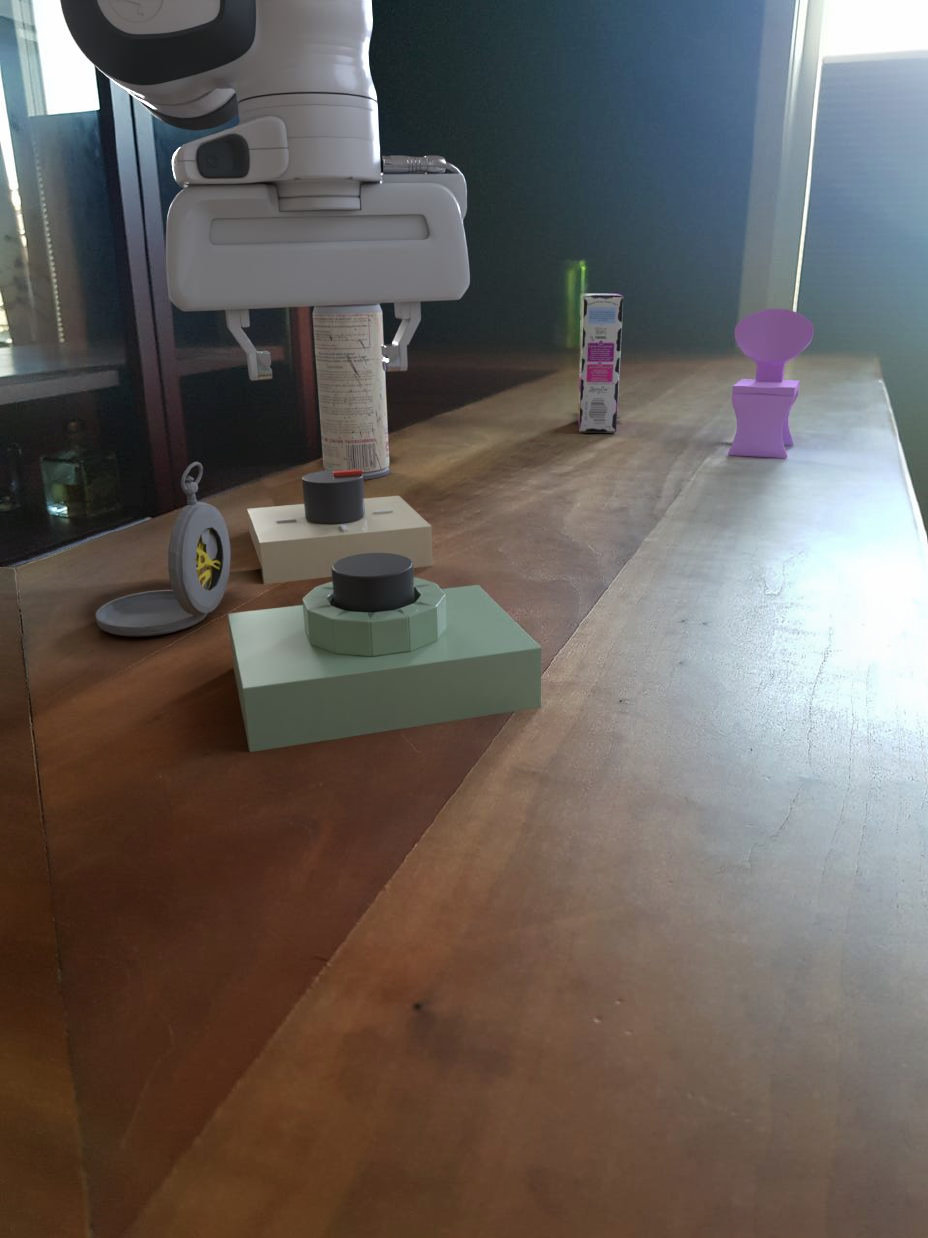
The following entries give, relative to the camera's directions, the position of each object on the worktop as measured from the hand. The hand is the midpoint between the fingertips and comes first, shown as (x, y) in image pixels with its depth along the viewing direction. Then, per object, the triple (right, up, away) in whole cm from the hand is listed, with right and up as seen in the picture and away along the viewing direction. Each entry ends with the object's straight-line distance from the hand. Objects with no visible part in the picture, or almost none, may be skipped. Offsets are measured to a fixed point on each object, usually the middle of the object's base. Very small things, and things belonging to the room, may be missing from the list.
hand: (329, 374), depth 66 cm
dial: (0, -10, +4) cm, 10 cm away
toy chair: (+43, +2, +40) cm, 59 cm away
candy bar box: (+27, +8, +57) cm, 64 cm away
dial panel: (0, -12, +5) cm, 13 cm away
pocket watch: (-9, -18, -8) cm, 21 cm away
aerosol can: (-2, -2, +33) cm, 33 cm away
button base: (+5, -21, -17) cm, 27 cm away
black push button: (+5, -16, -19) cm, 25 cm away
